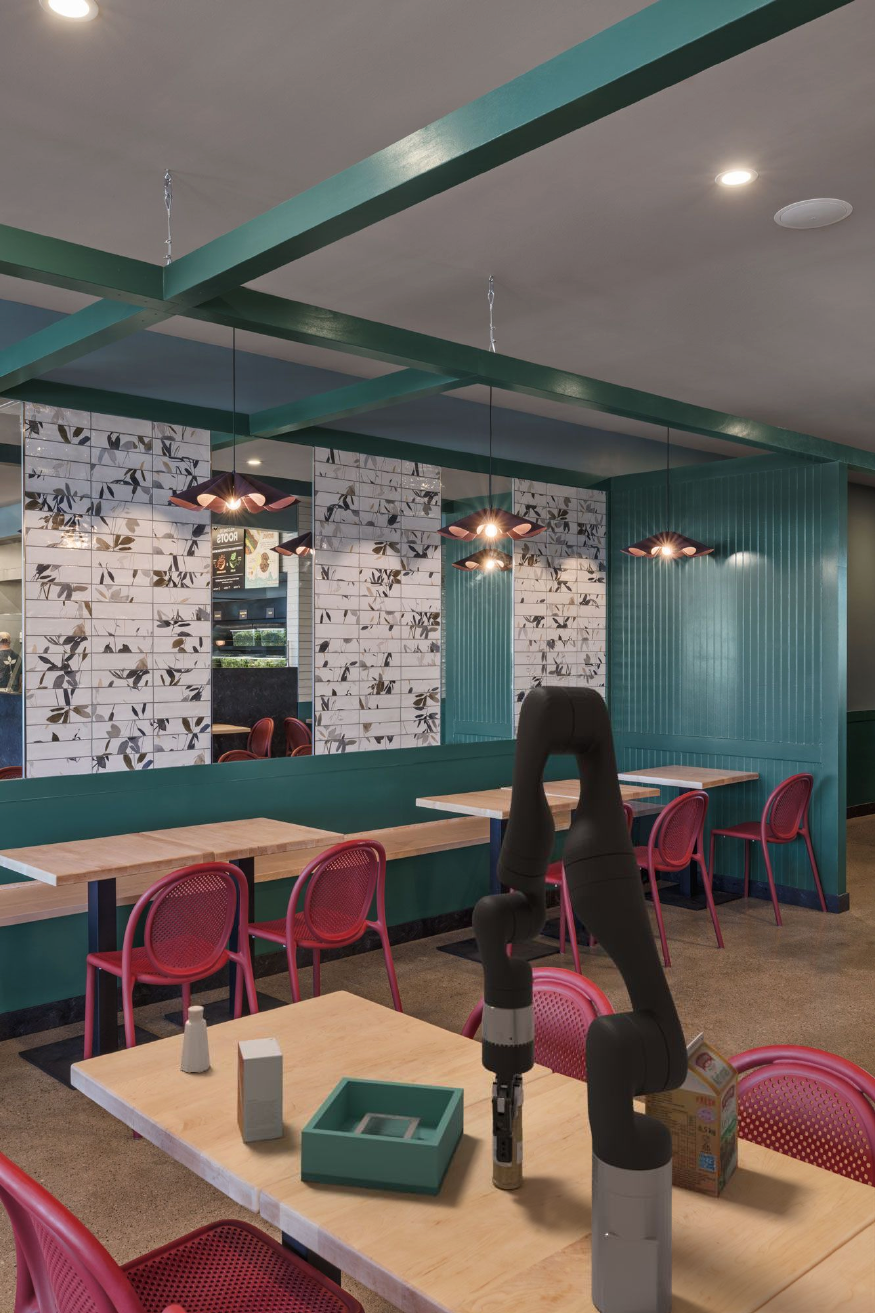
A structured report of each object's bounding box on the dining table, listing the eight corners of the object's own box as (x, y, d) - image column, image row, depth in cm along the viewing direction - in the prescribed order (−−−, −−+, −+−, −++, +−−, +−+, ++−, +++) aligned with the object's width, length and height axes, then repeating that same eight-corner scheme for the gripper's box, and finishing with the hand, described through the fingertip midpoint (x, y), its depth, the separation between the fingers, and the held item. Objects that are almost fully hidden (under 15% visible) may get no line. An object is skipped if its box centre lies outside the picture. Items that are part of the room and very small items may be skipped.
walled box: (437, 1196, 142) (437, 1146, 142) (300, 1180, 146) (301, 1131, 146) (463, 1133, 161) (463, 1088, 162) (342, 1120, 166) (343, 1077, 166)
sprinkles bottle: (529, 1185, 145) (530, 1090, 145) (504, 1194, 143) (504, 1097, 143) (510, 1171, 149) (510, 1079, 149) (484, 1180, 147) (485, 1086, 147)
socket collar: (407, 1164, 149) (407, 1143, 149) (350, 1157, 150) (350, 1137, 151) (420, 1137, 157) (420, 1118, 157) (366, 1132, 159) (366, 1112, 159)
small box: (236, 1121, 165) (237, 1040, 165) (275, 1116, 167) (276, 1036, 167) (242, 1143, 157) (242, 1059, 158) (283, 1138, 159) (283, 1054, 160)
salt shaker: (177, 1064, 189) (178, 1005, 189) (206, 1060, 191) (207, 1001, 191) (183, 1075, 184) (183, 1014, 184) (213, 1070, 186) (213, 1010, 186)
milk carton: (717, 1198, 142) (717, 1061, 142) (644, 1178, 147) (645, 1046, 148) (737, 1167, 151) (738, 1038, 151) (668, 1149, 156) (668, 1025, 157)
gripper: (528, 1053, 138) (527, 1179, 138) (539, 1018, 152) (539, 1132, 152) (473, 1049, 140) (472, 1173, 140) (490, 1014, 154) (489, 1127, 154)
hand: (507, 1151), depth 146 cm, fingers open, 5 cm apart
